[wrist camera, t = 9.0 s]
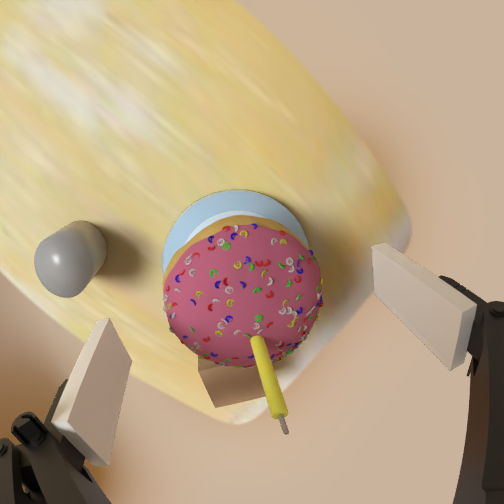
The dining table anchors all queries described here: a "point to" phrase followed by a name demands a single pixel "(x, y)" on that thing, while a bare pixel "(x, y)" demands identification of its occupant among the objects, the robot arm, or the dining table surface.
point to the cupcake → (244, 297)
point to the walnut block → (230, 383)
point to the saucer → (223, 207)
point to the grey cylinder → (70, 258)
